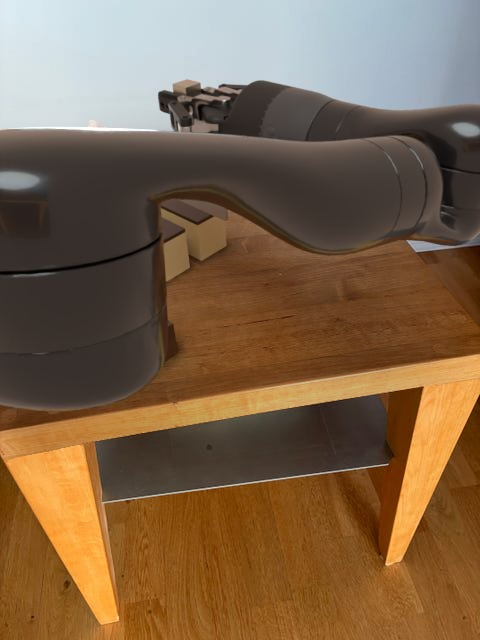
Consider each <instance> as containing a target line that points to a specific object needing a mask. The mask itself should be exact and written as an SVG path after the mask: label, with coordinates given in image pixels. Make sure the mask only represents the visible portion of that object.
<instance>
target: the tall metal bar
mask: <svg viewBox="0 0 480 640" xmlns="http://www.w3.org/2000/svg"><path fill="white" fill-rule="evenodd" d="M171 85H172V92H173V93H177V94H180V95H185V96H190V97H195V96H198V95H200V94H201V89H202V86H201V85H202V84H201V82H199V81H196V80H192V79H188V78H186V79H183V80H181V81H177V82H173V83H172V84H171ZM190 112H193V109H192V107H191V106H190ZM179 201H182V202H184V203H186V204H188V205H191V206H193V207H195V208H197V209H200V210H202V211H204V212H206V213H208V214H211V215H213V216H215V217H217V218H220V219H222V220H224V221H225V222H227V221H228V220H229V212H228V211H229V210H227V209H225V208H223V207H221V206H218V205H215V204H212V203H207V202H203V201H194V200H179Z"/></svg>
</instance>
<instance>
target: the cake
mask: <svg viewBox="0 0 480 640" xmlns="http://www.w3.org/2000/svg"><path fill="white" fill-rule="evenodd" d="M161 216H162V233H163V243H164V258H165V274H166V283H167V282H169V281H171V280H172V279H174V278H175V277H176V276H179V275H181V274H182V273H184V272H185V271H187V270H188V269H190V268H191V265H190V264H191V263H190V257H189V256H191V257H193V258H195V259H196V260H199V261H200V262H202V261H204V260H205V259H207V258H209V257H211V256H212V255H214V254H215V253H217V252H220V251H221V250H222V249H224V248H226V247H227V234H226V233H227V232H226V230H227V229H226V221H224V220H222V219H220V218H217V217H215V216H213V215H211V214H208V213H206V212H204V211H202V210H200V209H197V208H195V207H193V206H191V205H188V204H186V203H184V202H182V201H179V200H168V201H164V202H163V203H162V204H161Z"/></svg>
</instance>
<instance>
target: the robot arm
mask: <svg viewBox="0 0 480 640" xmlns="http://www.w3.org/2000/svg"><path fill="white" fill-rule="evenodd" d="M217 87H218V88H215V87H213V86H206V87H203V88H201V94H200V95H198V96H195V97H190V96H185V95H180V94H177V93H173V91H169V90H166V89H163V90H160V91H158V93H157V99H158V101H157V102H158V108H159V111H160V112H162V113H165V114H168V115H169V120H170V127H171V129H172V130H161V129H159V130H157V129H139V128H118V127H117V128H113V127H112V128H111V127H104V128H87V126H86V127H83V126H82V127H81V126H35V127H34V126H33V127H14V128H13V127H12V128H11V127H10V128H0V406H2V407H8V408H13V409H22V410H29V411H36V412H37V411H38V412H67V411H68V412H71V411H80V410H88V409H96V408H100V407H105V406H108V405H111V404H116V403H119V402H121V401H124V400H126V399H128V398H130V397H132V396H135V395H137V394H139V393H140V392H141V391H143V390H144V389H145V388H146V387H148V386H149V385H150V384H151V383H152V382H154V381H155V379H156V378H157V377H158V375H160V373H161V371H162V369H163V367H164V364H165V363H166V361H165V359H166V353H167V345H168V320H169V317H168V301H167V298H168V290H167V289H168V288H167V282H166V274H165V258H164V243H163V233H162V216H161V204H162V203H163V202H164V201H168V200H194V201H203V202H207V203H212V204H215V205H218V206H221V207H223V208H225V209H227V210H228V211H230V212H232V213H234V214H236V215H238V216H240V217H242V218H243V219H245V220H248V221H249V222H250V223H252V224H254V225H256V226H258V227H259V228H261V229H263V230H264V231H266V232H267V233H269V234H270V235H272V236H273V237H275V238H277V239H279V240H281V241H282V242H284V243H286V244H288V245H290V246H292V247H294V248H296V249H298V250H301V251H303V252H306V253H310V254H315V255H319V256H320V255H321V256H326V257H332V256H333V257H334V256H337V257H338V256H348V255H352V254H353V255H354V254H357V253H360V252H361V253H362V252H365V251H368V250H371V249H374V248H377V247H381V246H385V245H388V244H391V243H394V242H397V241H413V242H425V243H428V244H432V245H433V244H434V245H438V246H445V247H446V246H447V247H457V246H463V245H466V244H467V243H469V242H471V241H472V240H474V239H475V238H476V237H477V236H478V235H479V234H480V103H463V104H462V103H461V104H451V105H442V106H435V107H434V106H433V107H426V108H416V109H385V108H377V107H371V106H366V105H363V104H357V103H352V102H348V101H344V100H339V99H336V98H333V97H330V96H328V95H326V94H324V93H321V92H317V91H313V90H308V89H304V88H301V87H300V88H299V87H296V86H292V85H286V84H282V83H277V82H274V81H268V80H265V79H264V80H263V79H262V80H261V79H259V80H254V81H252V82H250V83H248V84H230V83H229V84H228V83H220V84H219V85H218V86H217ZM190 106H191V107H192V109H193V112H190Z"/></svg>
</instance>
